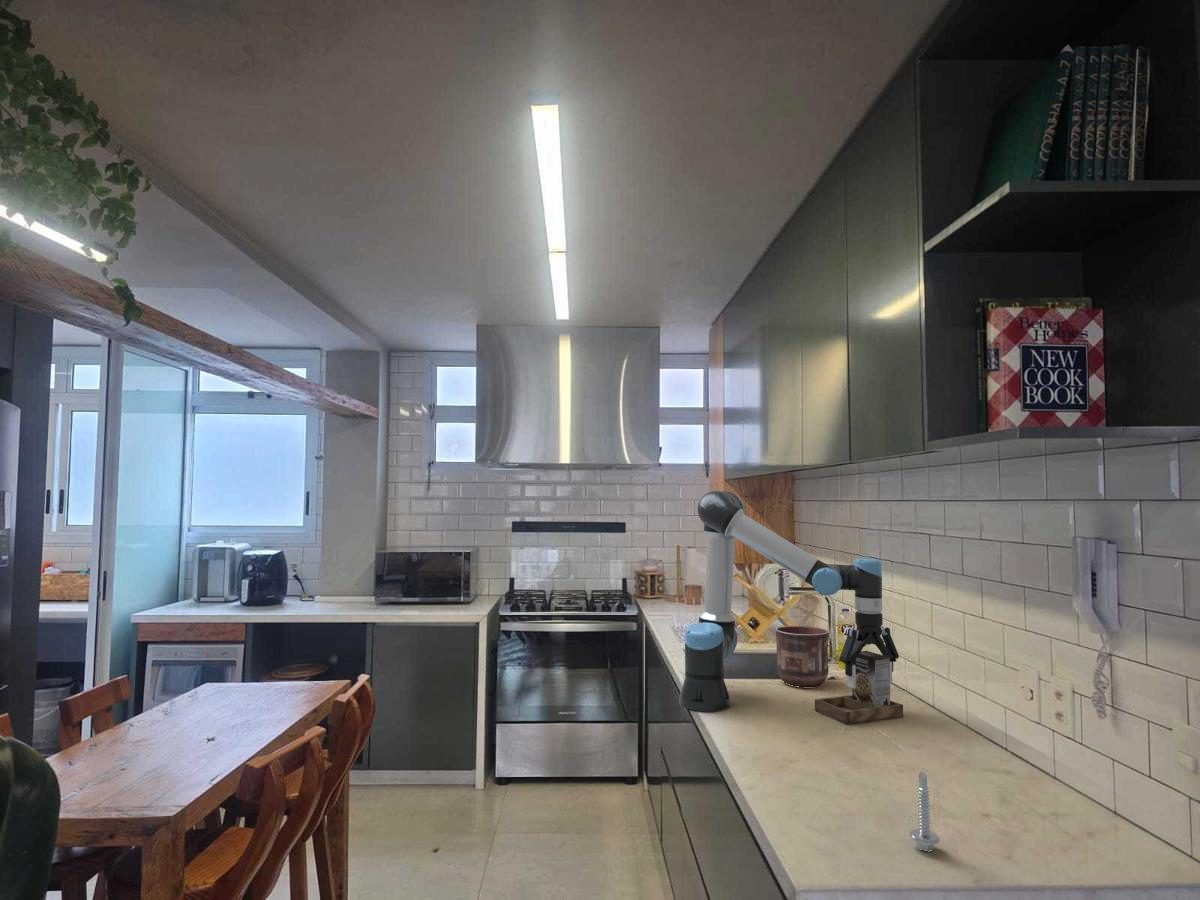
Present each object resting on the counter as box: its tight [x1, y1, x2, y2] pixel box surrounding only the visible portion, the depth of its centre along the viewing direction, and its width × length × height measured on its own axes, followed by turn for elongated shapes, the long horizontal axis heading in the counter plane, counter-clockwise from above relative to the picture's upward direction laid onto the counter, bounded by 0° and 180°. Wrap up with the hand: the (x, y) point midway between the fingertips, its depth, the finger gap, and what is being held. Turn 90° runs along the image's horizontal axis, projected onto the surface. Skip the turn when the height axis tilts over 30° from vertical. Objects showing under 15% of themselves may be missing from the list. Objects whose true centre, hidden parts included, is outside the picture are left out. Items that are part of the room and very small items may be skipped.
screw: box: [909, 771, 941, 851], centre depth 120 cm, size 13×5×5 cm
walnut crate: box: [814, 694, 904, 726], centre depth 198 cm, size 20×14×4 cm
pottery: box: [775, 625, 830, 688], centre depth 232 cm, size 18×18×18 cm
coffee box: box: [851, 650, 891, 707], centre depth 200 cm, size 9×6×16 cm
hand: (869, 685), depth 200 cm, fingers open, 13 cm apart
